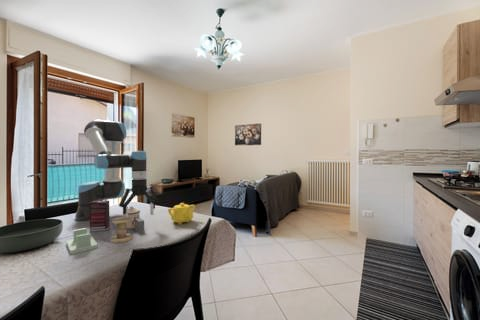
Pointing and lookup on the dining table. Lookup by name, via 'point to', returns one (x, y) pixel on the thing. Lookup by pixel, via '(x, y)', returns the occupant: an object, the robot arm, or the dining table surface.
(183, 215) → the teapot
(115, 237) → the bobbin
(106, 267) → the dining table surface
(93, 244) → the notch board
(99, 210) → the supplement box
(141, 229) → the lead tab
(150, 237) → the dining table surface
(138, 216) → the teacup with lid
